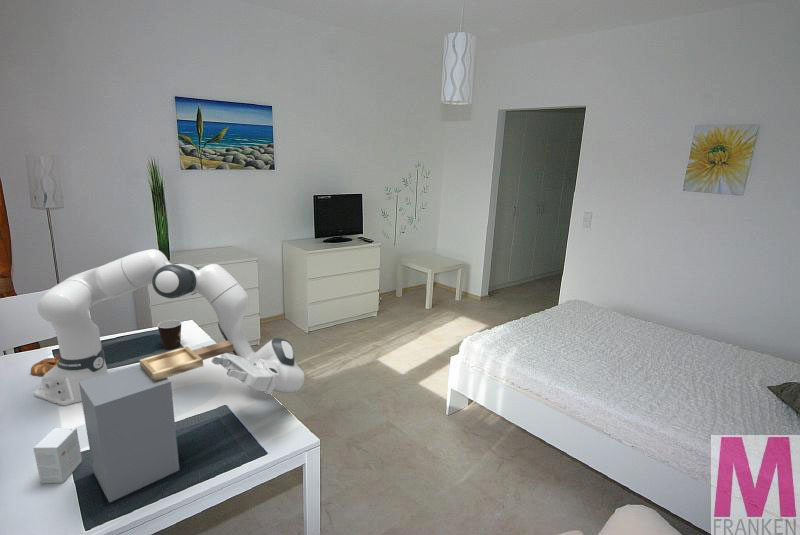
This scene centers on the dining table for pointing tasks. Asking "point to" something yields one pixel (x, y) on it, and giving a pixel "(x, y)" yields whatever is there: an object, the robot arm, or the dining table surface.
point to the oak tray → (181, 360)
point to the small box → (58, 455)
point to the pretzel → (43, 366)
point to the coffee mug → (170, 334)
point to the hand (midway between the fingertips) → (220, 366)
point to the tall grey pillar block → (129, 430)
